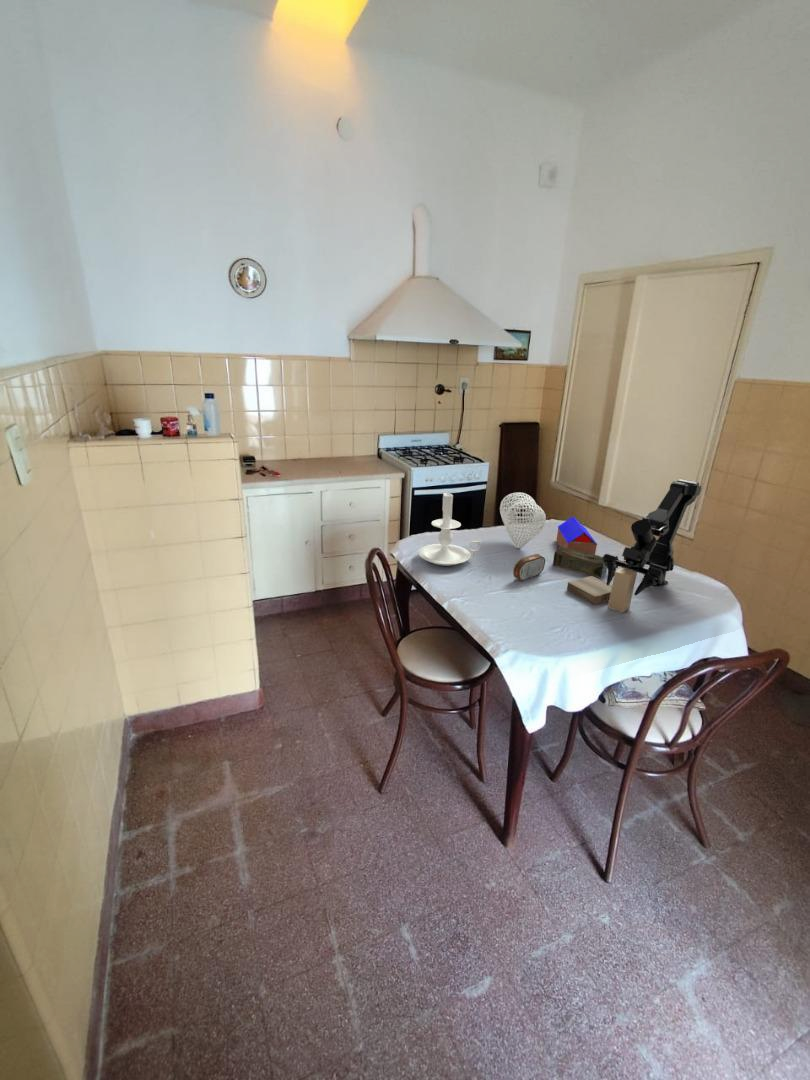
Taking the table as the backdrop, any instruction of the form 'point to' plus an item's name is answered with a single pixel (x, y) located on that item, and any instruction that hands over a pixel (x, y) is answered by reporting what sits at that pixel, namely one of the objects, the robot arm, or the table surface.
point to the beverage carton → (579, 562)
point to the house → (575, 537)
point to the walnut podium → (590, 589)
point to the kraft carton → (622, 589)
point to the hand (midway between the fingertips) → (620, 589)
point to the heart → (534, 518)
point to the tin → (529, 567)
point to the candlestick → (446, 540)
